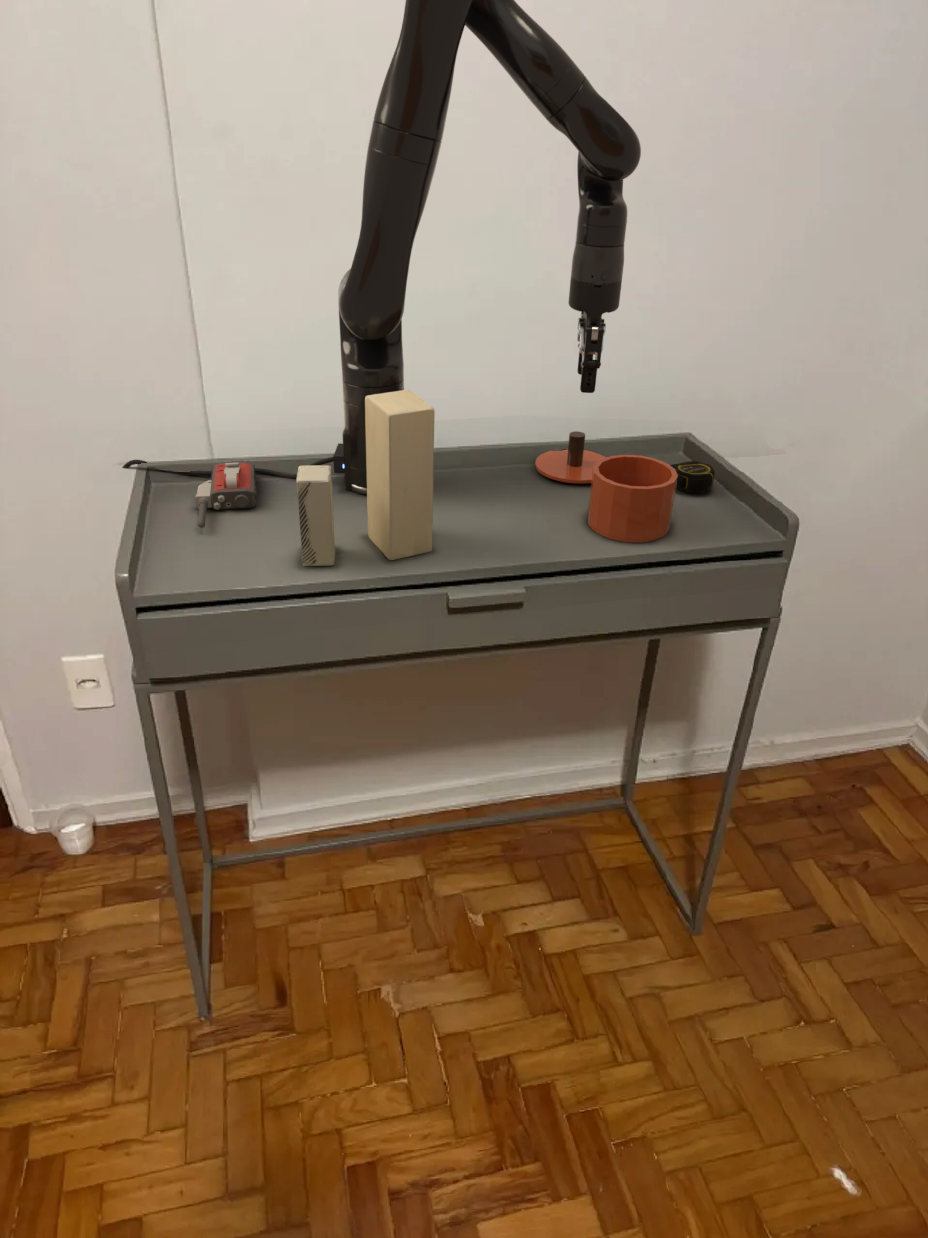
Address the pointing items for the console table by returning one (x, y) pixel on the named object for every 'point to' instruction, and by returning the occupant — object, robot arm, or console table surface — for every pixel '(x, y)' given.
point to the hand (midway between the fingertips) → (585, 382)
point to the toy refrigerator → (399, 472)
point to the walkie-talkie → (227, 488)
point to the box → (316, 515)
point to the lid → (569, 461)
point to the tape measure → (694, 476)
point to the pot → (631, 498)
